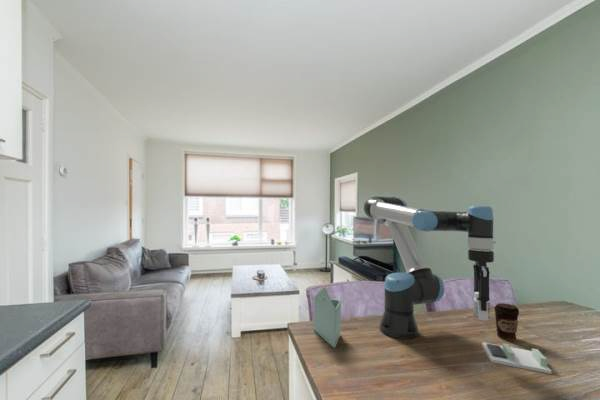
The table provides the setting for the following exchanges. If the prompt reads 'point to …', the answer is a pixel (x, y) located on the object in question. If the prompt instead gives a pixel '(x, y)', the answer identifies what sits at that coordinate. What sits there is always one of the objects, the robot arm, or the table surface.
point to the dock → (517, 357)
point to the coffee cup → (506, 321)
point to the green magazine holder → (327, 317)
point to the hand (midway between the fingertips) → (481, 316)
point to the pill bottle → (477, 306)
